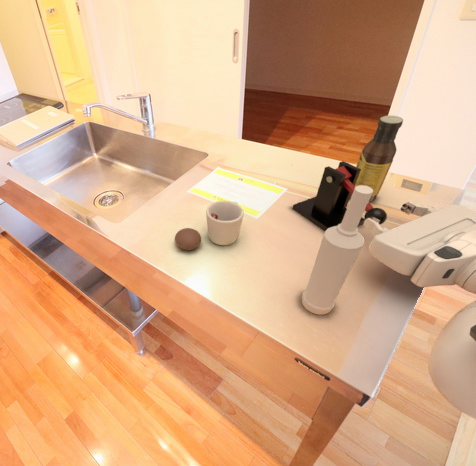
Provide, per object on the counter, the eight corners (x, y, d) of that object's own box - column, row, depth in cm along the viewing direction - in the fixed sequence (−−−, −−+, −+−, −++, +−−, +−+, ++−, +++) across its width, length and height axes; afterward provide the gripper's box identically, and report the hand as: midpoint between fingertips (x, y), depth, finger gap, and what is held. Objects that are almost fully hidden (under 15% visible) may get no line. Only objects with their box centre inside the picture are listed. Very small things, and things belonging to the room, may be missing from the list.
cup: (218, 217, 81) (219, 190, 76) (249, 226, 77) (253, 198, 72) (199, 242, 75) (200, 215, 70) (232, 253, 71) (235, 226, 65)
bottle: (295, 295, 60) (333, 182, 44) (321, 290, 60) (369, 176, 44) (310, 318, 56) (357, 203, 40) (338, 313, 56) (398, 196, 40)
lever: (382, 225, 66) (395, 216, 62) (368, 230, 65) (381, 222, 62) (337, 173, 72) (347, 163, 68) (324, 178, 71) (334, 167, 68)
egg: (169, 244, 76) (169, 231, 73) (188, 233, 78) (188, 220, 75) (187, 257, 72) (187, 244, 69) (206, 245, 74) (207, 232, 71)
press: (363, 223, 72) (385, 174, 64) (332, 236, 71) (350, 187, 63) (321, 197, 81) (335, 151, 73) (292, 208, 80) (303, 162, 71)
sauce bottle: (355, 186, 83) (386, 110, 70) (381, 196, 79) (418, 117, 66) (340, 195, 81) (368, 118, 68) (365, 206, 77) (400, 126, 64)
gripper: (523, 222, 52) (433, 183, 62) (430, 264, 48) (350, 216, 58) (499, 249, 56) (418, 209, 66) (411, 291, 52) (340, 241, 63)
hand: (386, 212), depth 62 cm, fingers open, 8 cm apart
